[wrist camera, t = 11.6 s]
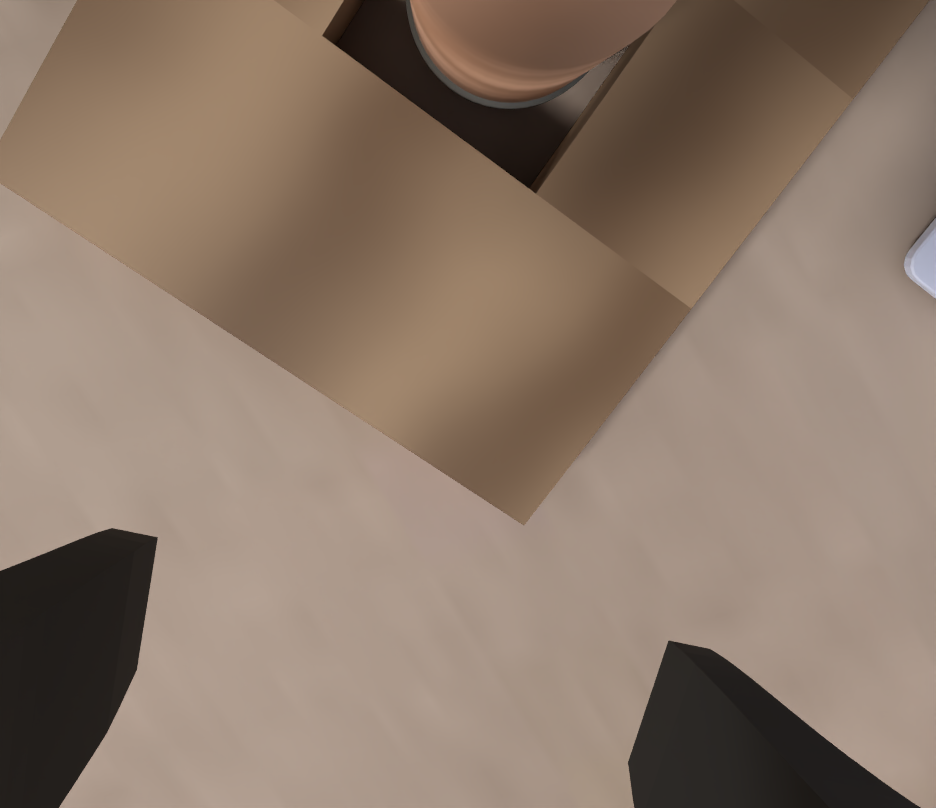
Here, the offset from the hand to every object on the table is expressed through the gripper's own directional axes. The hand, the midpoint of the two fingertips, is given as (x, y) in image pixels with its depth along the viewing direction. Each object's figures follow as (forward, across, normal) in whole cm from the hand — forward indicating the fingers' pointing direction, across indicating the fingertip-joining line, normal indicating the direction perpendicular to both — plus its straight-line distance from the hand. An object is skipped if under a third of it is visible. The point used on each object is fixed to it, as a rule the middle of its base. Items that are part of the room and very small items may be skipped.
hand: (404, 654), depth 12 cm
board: (+10, 0, -10) cm, 14 cm away
